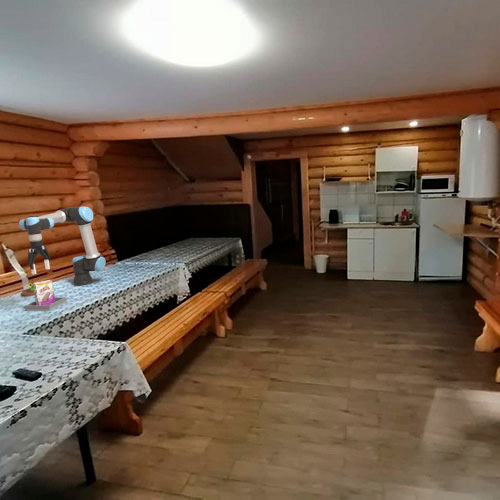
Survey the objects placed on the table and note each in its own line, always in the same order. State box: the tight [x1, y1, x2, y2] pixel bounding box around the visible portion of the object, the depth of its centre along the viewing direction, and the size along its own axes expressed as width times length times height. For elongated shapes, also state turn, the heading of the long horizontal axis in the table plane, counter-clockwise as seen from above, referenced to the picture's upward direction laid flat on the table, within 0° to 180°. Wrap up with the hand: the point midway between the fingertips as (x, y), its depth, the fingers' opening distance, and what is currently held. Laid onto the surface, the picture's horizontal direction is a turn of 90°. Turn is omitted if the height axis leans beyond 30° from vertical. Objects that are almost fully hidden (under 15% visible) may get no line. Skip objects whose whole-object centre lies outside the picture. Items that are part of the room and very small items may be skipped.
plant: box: [20, 278, 42, 298], centre depth 300 cm, size 20×20×11 cm
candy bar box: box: [32, 279, 56, 305], centre depth 261 cm, size 11×5×16 cm, turn 134°
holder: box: [24, 296, 68, 312], centre depth 262 cm, size 18×18×4 cm
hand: (41, 271), depth 258 cm, fingers open, 13 cm apart
